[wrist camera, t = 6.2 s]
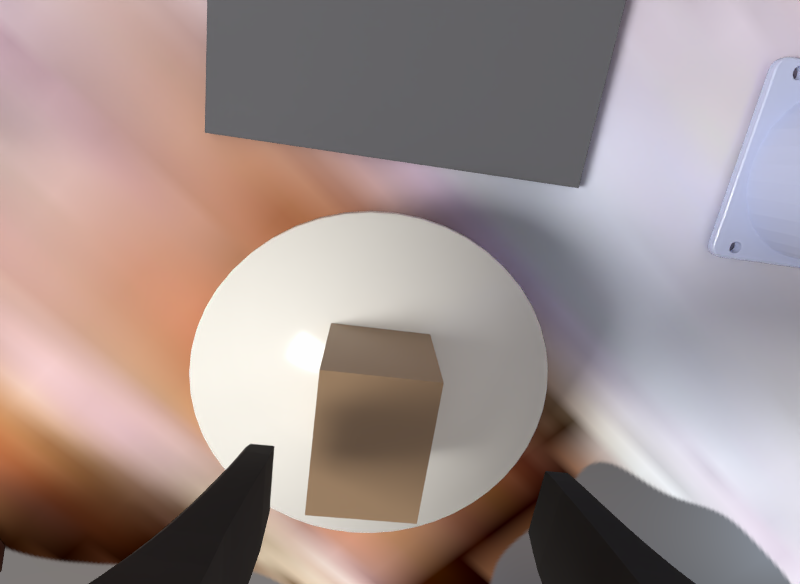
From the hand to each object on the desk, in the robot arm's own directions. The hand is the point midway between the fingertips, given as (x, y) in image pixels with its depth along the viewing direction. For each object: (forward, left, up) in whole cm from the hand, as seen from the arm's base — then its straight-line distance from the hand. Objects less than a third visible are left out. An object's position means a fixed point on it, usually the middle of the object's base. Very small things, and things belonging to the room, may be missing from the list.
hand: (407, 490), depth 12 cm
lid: (+1, 0, -6) cm, 6 cm away
